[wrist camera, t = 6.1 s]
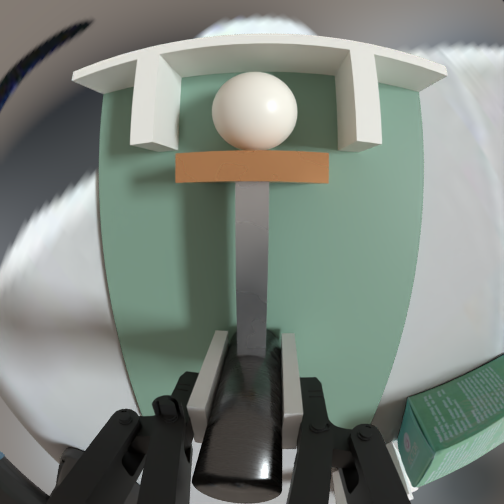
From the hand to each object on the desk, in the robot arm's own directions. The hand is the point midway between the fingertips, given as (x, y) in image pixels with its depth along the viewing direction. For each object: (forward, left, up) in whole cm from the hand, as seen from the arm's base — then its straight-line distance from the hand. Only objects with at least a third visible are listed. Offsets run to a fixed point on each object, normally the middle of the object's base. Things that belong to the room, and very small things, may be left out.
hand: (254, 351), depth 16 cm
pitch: (0, +3, -2) cm, 3 cm away
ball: (0, +13, +1) cm, 13 cm away
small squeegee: (0, +5, 0) cm, 5 cm away
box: (+20, -9, -2) cm, 22 cm away
